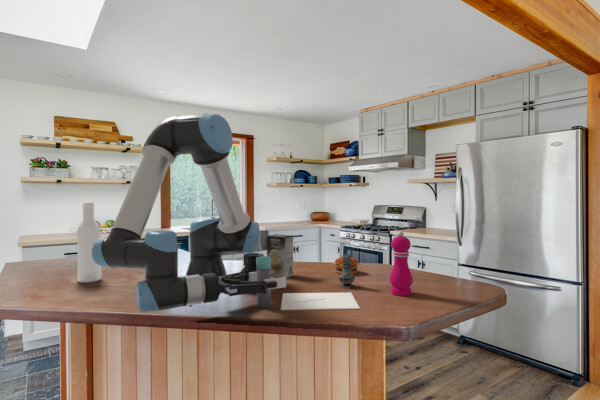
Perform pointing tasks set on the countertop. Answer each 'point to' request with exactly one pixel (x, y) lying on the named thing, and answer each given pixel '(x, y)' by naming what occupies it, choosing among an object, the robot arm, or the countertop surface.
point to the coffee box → (280, 255)
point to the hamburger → (340, 262)
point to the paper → (318, 301)
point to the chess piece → (346, 273)
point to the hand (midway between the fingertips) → (276, 278)
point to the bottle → (87, 245)
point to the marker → (262, 274)
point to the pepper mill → (401, 266)
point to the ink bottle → (250, 262)
